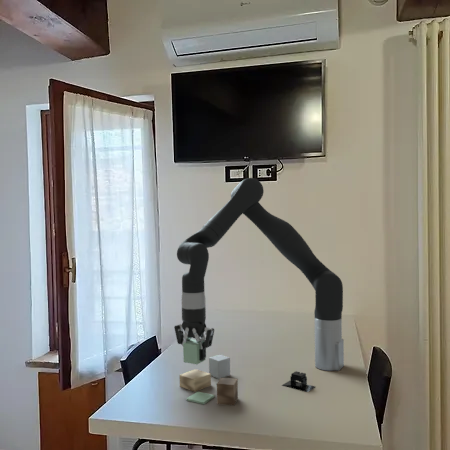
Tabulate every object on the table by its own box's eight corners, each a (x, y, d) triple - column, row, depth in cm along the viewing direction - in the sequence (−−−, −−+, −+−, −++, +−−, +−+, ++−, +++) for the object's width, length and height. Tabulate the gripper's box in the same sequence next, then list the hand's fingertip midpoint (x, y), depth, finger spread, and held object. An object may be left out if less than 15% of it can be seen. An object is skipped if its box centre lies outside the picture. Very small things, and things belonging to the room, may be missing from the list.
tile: (214, 396, 146) (214, 394, 146) (204, 404, 141) (203, 402, 141) (197, 393, 149) (197, 391, 149) (186, 400, 144) (186, 398, 144)
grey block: (230, 375, 165) (229, 357, 165) (218, 379, 162) (218, 361, 161) (220, 371, 169) (220, 354, 168) (209, 375, 165) (208, 357, 165)
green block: (205, 359, 156) (205, 341, 156) (197, 364, 152) (196, 345, 152) (192, 357, 159) (192, 339, 159) (183, 362, 154) (183, 343, 154)
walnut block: (237, 398, 145) (237, 378, 145) (234, 405, 140) (233, 384, 140) (221, 397, 146) (221, 377, 146) (217, 404, 141) (216, 383, 141)
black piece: (321, 388, 153) (321, 374, 152) (310, 396, 147) (310, 381, 147) (287, 380, 160) (287, 366, 160) (275, 387, 155) (275, 373, 155)
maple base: (211, 386, 156) (210, 373, 156) (194, 392, 151) (194, 379, 151) (195, 381, 161) (195, 369, 160) (179, 387, 156) (179, 374, 155)
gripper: (219, 305, 154) (220, 358, 155) (181, 301, 161) (182, 352, 162) (206, 310, 148) (207, 365, 149) (168, 305, 155) (169, 359, 156)
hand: (194, 358), depth 155 cm, fingers closed on green block, 5 cm apart
